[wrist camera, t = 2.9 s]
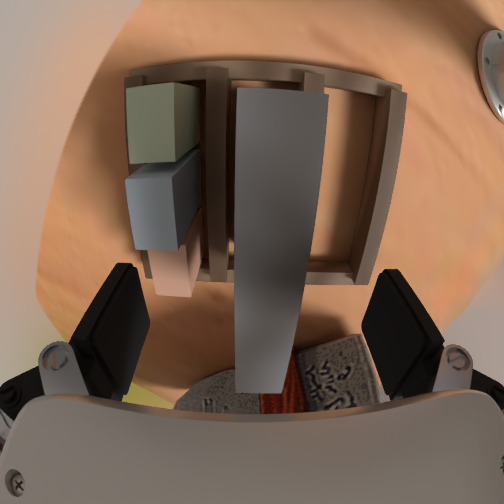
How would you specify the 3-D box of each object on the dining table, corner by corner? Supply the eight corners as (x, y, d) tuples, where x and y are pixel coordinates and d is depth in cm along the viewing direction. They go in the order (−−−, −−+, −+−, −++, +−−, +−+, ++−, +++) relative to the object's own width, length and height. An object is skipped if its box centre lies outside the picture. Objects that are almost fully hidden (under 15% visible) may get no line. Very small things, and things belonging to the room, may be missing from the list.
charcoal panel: (278, 98, 20) (328, 94, 7) (269, 246, 27) (281, 393, 14) (248, 97, 20) (237, 87, 6) (244, 245, 27) (235, 392, 14)
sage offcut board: (200, 87, 20) (174, 82, 13) (200, 141, 22) (175, 161, 15) (165, 90, 20) (126, 88, 13) (166, 142, 22) (129, 163, 15)
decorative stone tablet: (389, 471, 15) (145, 476, 25) (395, 476, 18) (178, 487, 28) (361, 317, 31) (175, 369, 42) (371, 344, 34) (199, 388, 44)
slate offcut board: (200, 149, 22) (171, 177, 15) (201, 200, 25) (178, 251, 17) (166, 150, 22) (124, 179, 15) (170, 200, 25) (135, 249, 17)
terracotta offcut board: (201, 207, 25) (185, 245, 19) (204, 252, 28) (191, 297, 22) (170, 207, 25) (146, 243, 19) (175, 251, 28) (156, 295, 22)
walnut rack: (391, 85, 19) (407, 84, 16) (357, 273, 29) (365, 290, 26) (139, 71, 18) (124, 69, 16) (155, 267, 29) (147, 284, 26)
